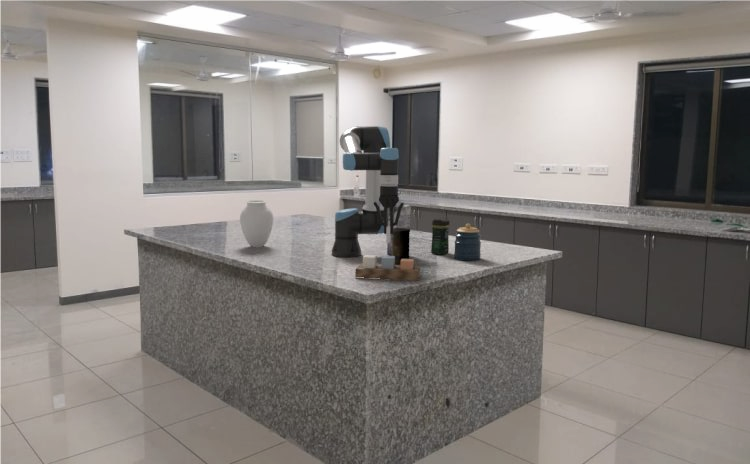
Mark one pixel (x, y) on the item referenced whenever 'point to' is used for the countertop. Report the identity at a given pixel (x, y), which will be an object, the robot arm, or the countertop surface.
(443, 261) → the countertop surface
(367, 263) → the ivory key
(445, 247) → the coffee jar
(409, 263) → the terracotta key
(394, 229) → the container
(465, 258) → the canister
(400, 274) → the key panel
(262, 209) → the vase
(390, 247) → the juice carton
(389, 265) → the slate key
